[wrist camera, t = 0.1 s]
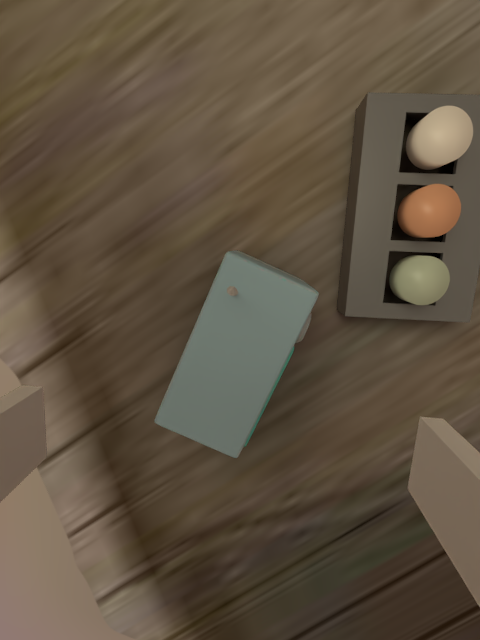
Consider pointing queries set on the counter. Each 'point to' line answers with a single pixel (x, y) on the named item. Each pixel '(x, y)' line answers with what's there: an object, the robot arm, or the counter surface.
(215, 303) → the radio
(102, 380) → the counter surface
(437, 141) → the button ivory
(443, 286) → the button sage
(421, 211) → the button terracotta
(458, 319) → the grey piece
